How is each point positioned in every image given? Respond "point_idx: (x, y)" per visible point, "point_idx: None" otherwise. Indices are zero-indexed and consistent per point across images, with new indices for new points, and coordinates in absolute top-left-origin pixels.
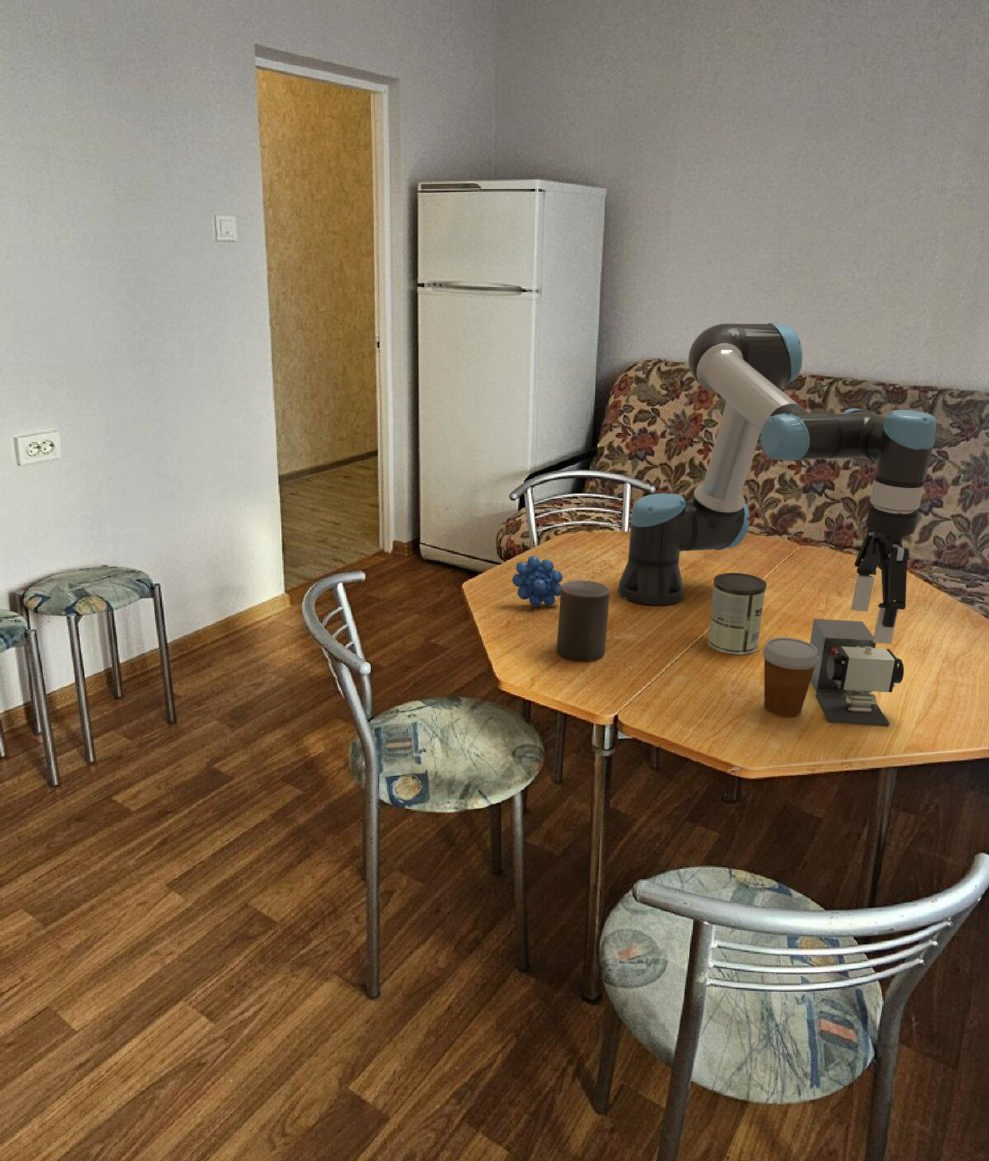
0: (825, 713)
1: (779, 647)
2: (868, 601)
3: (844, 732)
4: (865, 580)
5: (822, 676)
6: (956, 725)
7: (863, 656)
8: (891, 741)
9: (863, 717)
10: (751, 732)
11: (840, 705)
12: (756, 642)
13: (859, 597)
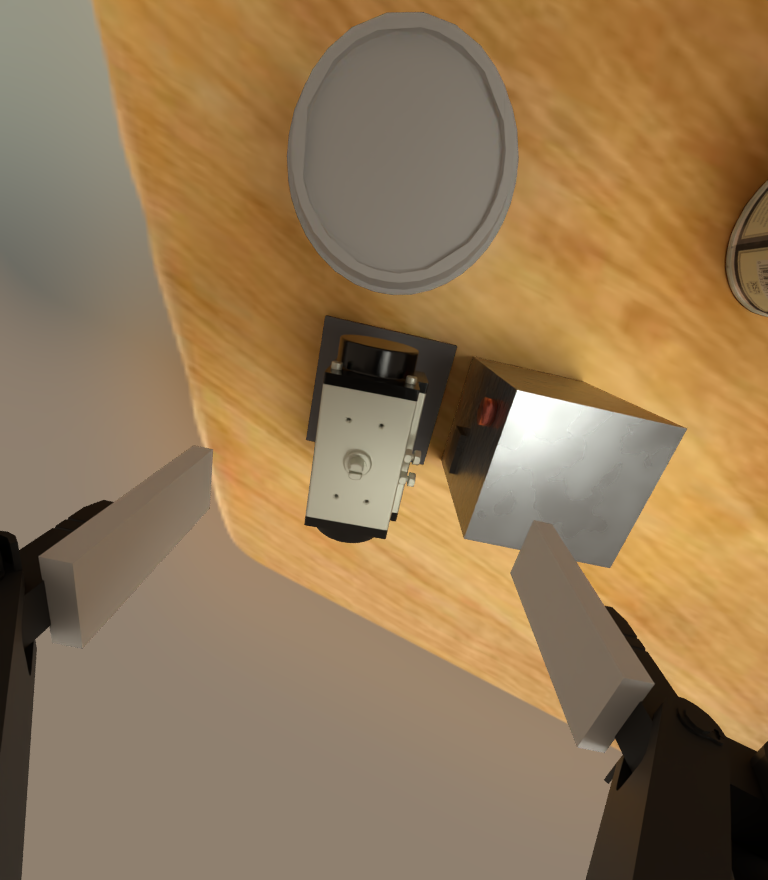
0: (361, 323)
1: (425, 105)
2: (525, 604)
3: (281, 329)
4: (588, 686)
5: (479, 372)
6: (311, 555)
7: (330, 436)
8: (247, 411)
9: None
10: (274, 54)
11: None
12: (760, 293)
13: (548, 582)
